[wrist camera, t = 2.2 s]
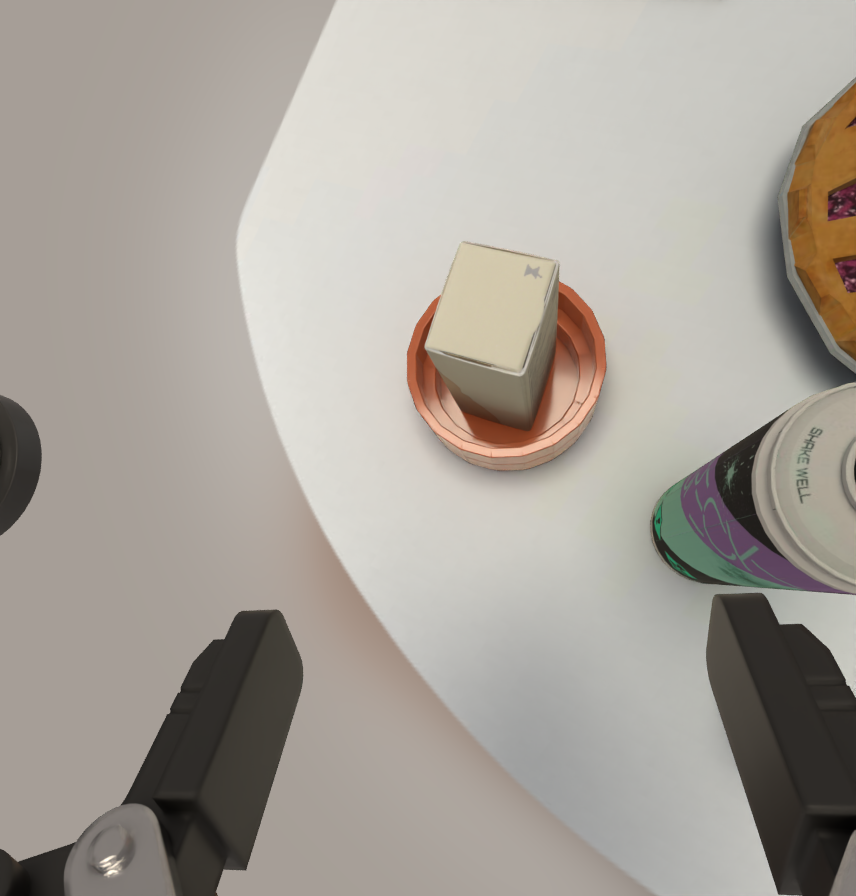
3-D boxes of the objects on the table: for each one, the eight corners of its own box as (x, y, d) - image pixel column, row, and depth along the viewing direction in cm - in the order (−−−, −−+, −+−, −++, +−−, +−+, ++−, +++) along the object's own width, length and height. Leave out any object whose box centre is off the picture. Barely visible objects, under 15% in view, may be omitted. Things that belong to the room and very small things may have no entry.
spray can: (728, 461, 32) (1003, 298, 13) (782, 558, 31) (1179, 538, 12) (631, 502, 33) (756, 405, 14) (680, 600, 31) (897, 647, 12)
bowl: (401, 445, 36) (382, 428, 31) (451, 289, 37) (439, 252, 33) (571, 492, 33) (575, 481, 29) (617, 324, 35) (628, 289, 30)
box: (486, 332, 36) (461, 230, 25) (558, 350, 35) (565, 253, 24) (457, 416, 35) (420, 348, 24) (530, 437, 34) (524, 376, 23)
